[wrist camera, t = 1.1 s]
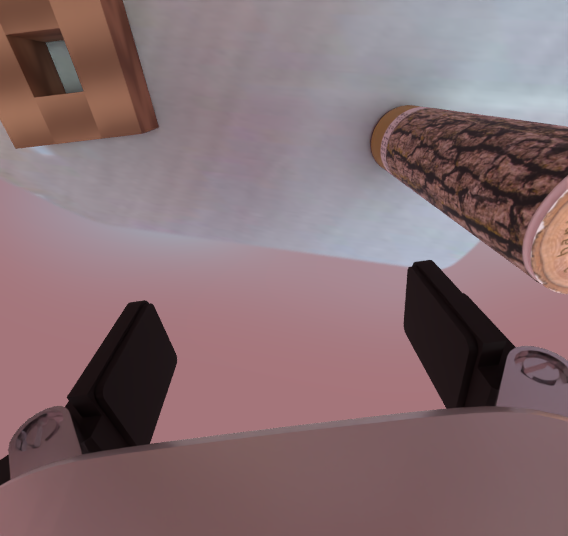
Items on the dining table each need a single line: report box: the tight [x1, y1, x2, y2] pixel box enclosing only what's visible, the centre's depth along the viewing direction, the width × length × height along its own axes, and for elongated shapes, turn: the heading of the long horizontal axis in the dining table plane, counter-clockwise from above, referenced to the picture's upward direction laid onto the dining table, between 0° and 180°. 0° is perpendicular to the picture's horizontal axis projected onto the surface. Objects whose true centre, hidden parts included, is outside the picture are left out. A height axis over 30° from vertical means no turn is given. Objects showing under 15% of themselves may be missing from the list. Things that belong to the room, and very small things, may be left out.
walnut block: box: [0, 0, 159, 149], centre depth 28 cm, size 12×12×5 cm
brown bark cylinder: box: [371, 105, 568, 294], centre depth 24 cm, size 7×7×25 cm
